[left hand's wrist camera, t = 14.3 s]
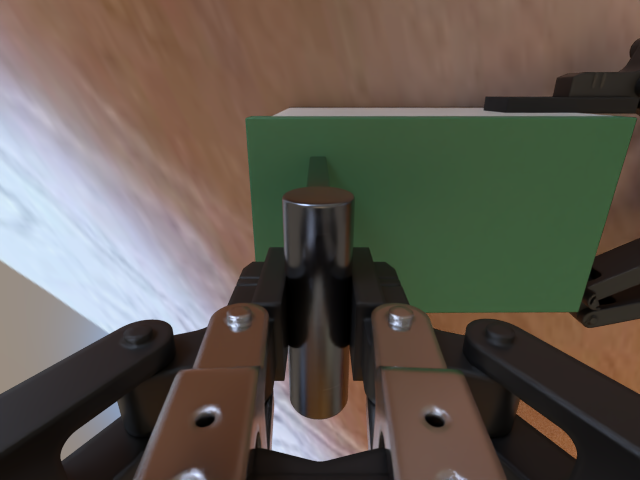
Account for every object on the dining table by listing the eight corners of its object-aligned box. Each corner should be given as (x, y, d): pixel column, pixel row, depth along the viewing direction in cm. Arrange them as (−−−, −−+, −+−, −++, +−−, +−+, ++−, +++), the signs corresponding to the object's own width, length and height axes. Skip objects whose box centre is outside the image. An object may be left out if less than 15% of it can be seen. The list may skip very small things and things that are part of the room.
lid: (262, 301, 19) (222, 455, 11) (250, 116, 16) (178, 141, 8) (563, 299, 20) (744, 452, 11) (615, 115, 16) (930, 140, 8)
